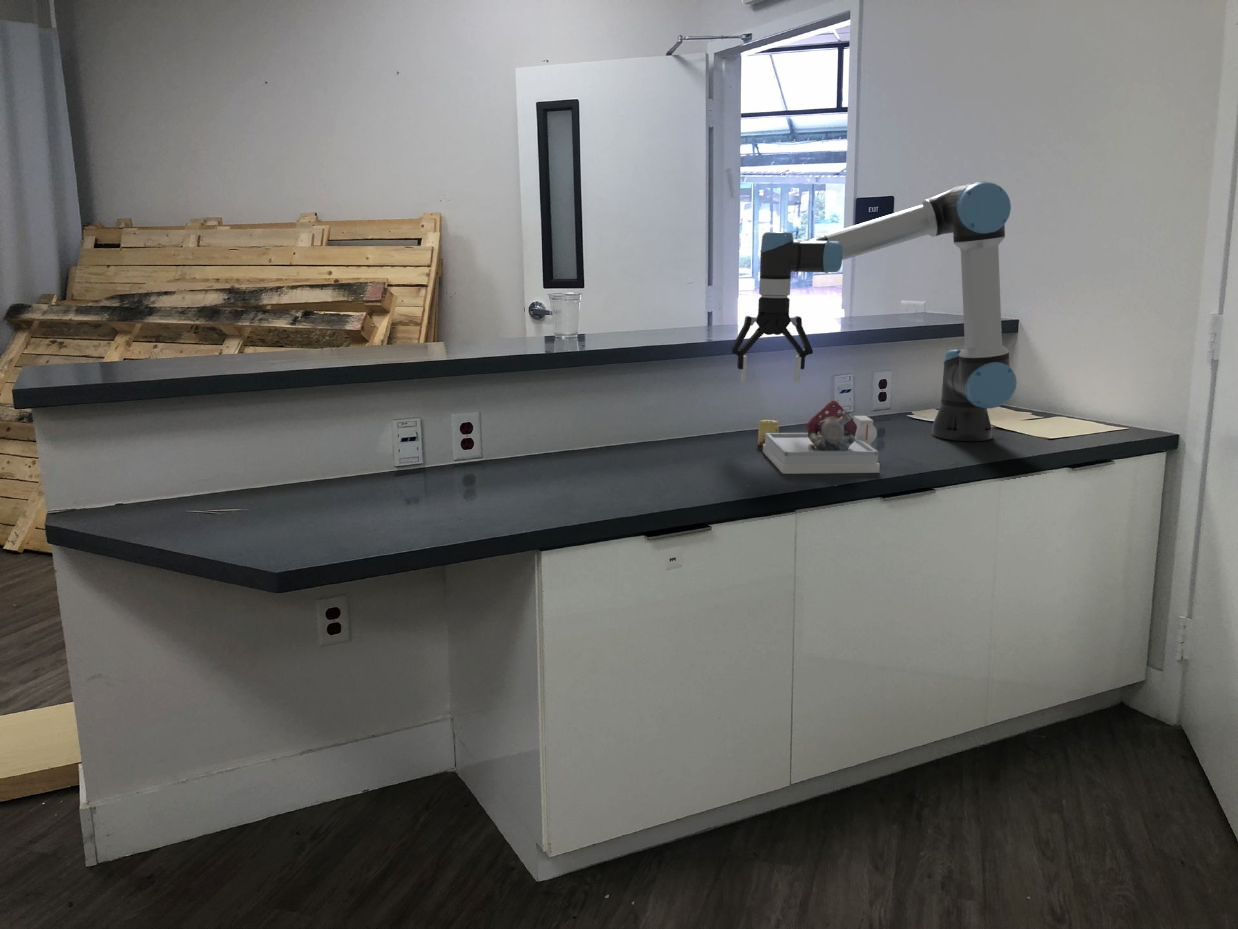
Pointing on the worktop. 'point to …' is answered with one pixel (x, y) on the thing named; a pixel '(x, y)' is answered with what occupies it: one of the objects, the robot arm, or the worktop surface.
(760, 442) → the brass spacer
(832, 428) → the brake caliper
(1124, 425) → the worktop surface
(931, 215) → the robot arm
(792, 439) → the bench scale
